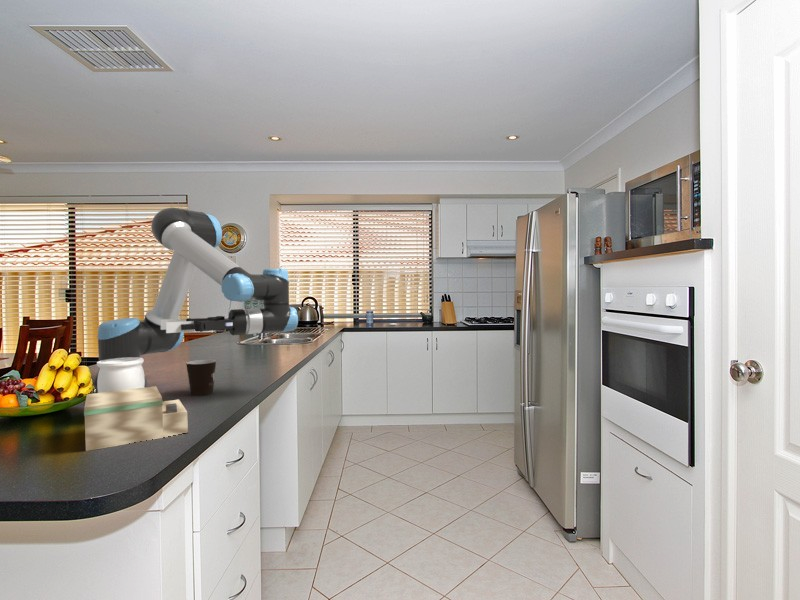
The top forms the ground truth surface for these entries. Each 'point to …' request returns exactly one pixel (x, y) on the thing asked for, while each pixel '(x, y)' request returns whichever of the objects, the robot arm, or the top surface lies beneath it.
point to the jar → (120, 374)
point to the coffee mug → (201, 376)
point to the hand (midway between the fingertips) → (163, 326)
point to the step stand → (131, 417)
